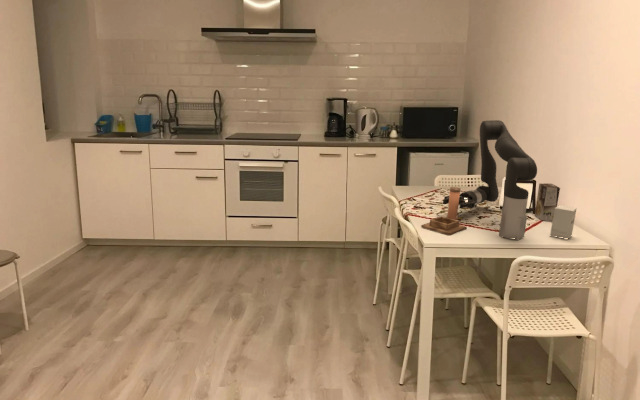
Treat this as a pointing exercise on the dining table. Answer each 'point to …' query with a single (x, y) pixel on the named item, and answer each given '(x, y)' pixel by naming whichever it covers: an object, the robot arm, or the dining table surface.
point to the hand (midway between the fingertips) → (452, 204)
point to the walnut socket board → (444, 225)
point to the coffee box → (546, 201)
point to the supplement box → (563, 221)
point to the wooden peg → (453, 203)
